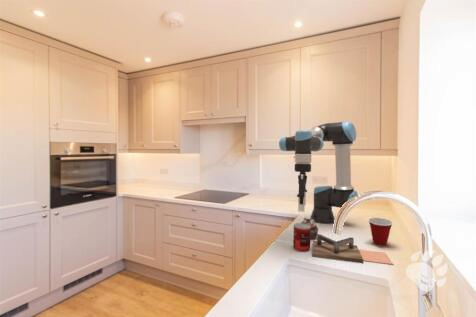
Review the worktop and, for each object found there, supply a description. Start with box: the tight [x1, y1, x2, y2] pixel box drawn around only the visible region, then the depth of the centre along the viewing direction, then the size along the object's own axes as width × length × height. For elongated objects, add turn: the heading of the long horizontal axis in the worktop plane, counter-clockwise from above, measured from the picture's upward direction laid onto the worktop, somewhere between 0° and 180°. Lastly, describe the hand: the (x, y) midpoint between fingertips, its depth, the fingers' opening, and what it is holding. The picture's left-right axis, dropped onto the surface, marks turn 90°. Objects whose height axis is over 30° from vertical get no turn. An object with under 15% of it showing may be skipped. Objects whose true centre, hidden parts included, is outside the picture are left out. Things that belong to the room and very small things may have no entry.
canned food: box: [292, 222, 311, 252], centre depth 115 cm, size 8×8×11 cm
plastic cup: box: [367, 217, 394, 247], centre depth 122 cm, size 11×11×12 cm
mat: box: [359, 249, 394, 266], centre depth 106 cm, size 12×11×1 cm
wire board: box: [312, 233, 364, 264], centre depth 111 cm, size 16×20×6 cm
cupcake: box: [300, 217, 319, 241], centre depth 131 cm, size 10×10×10 cm
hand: (302, 208), depth 115 cm, fingers open, 13 cm apart
